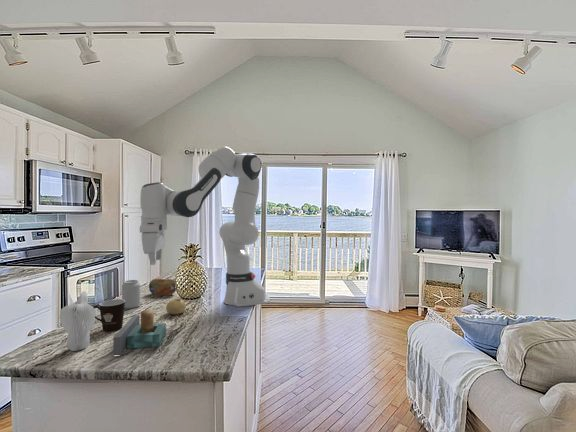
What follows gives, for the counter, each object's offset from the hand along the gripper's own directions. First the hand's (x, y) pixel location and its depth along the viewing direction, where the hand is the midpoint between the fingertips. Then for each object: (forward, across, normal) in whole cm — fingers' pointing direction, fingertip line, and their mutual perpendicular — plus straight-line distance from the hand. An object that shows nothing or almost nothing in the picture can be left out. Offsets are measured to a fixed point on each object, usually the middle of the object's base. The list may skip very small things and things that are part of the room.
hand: (156, 262), depth 117 cm
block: (+25, +12, -1) cm, 28 cm away
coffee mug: (+25, -3, -18) cm, 31 cm away
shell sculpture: (+25, +14, -22) cm, 36 cm away
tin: (+26, -48, -8) cm, 55 cm away
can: (+26, -29, -18) cm, 43 cm away
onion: (+26, -16, +4) cm, 31 cm away
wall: (+25, +12, -8) cm, 29 cm away
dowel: (+25, +12, -1) cm, 28 cm away
